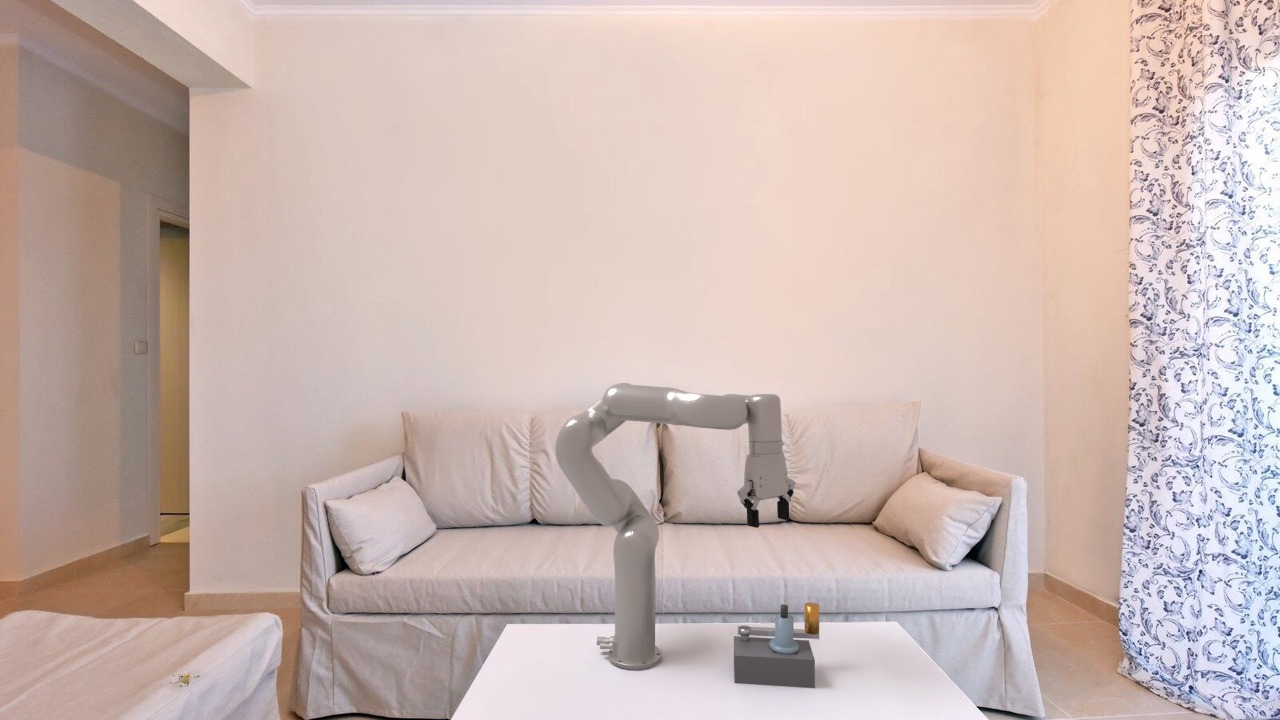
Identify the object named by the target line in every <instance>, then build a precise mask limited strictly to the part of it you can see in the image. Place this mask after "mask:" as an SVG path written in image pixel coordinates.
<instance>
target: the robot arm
mask: <svg viewBox="0 0 1280 720" xmlns="http://www.w3.org/2000/svg"><path fill="white" fill-rule="evenodd" d="M781 405H782V403H781V398H780V396H779V395H777V394H775V393H757V394H751V395H749V394H748V395H745V394H736V393H728V394H724V395H715V394H704V393H703V394H702V393H695V392H694V393H693V392H688V391H685V390H681V389H678V388H676V387H675V388H674V387H667V386H650V385H638V384H631V383H629V382H620V383H616V384H612V385H610V386H609V387H608V388H607V389H606V390H605V391H604V394H603V396H602V397H601V398H599V400H596V402H595V403H593V404H592V405H591V406H589V407H588V408H587V409H585V410H584V411H583V412H581V413H579V414H575V415H573V416H571V417H570V418H569V419H567V420H566V421H565V422H564V424H563V425H562V426H561V428H560V429H559V432H558V434H557V437H556V440H555V445H554V449H555V458H556V461H557V463H558V465H559V466H558V467H559V468H560V469H561V471H562V473H563V475H565V477H566V478H567V480H568V481H569V483H570V484H571V485H572V487H573V488H574V490H575V492H576V493H577V495H578V496H579V498H580V499H581V501H582V503H583V504H584V505H585V507H586V508H587V509H588V510H589V513H590V514H591V516H592V518H594V519H595V521H596V522H598V523H599V524H601V525H602V526H605V527H613V529H615V531H616V532H617V534H616V536H615V539H614V543H613V563H614V564H613V565H614V635H611V636H610V637H605V636H597V637H596V645H597V646H599V649H600V650H608V653H607V655H608V656H607V659H608V660H609V662H610V663H611V664H612V665H614V666H616V667H618V668H621V669H626V670H643V669H644V670H645V669H649V668H652V667H654V666H656V665H659V663H660V662H661V661H662V658H663V656H662V654H663V653H662V649H660V648H659V647H658V646H656V549H657V546H658V542H659V537H660V529H659V526H658V524H657V522H656V521H655V519H654V517H653V515H652V514H651V513H650V512H649V510H648V509H647V508H646V506H645V505H644V503H643V501H642V500H641V499H640V497H639V496H638V494H637V493H636V492H635V491H634V489H633V488H632V487H631V486H630V484H628V483H627V482H625V481H623V480H621V479H618V478H617V479H616V478H612V477H611V475H610V474H609V473H608V472H607V470H606V468H605V467H604V465H603V464H602V463H601V462H600V461H599V460H598V458H596V457H595V455H594V453H593V447H595V446H596V445H597V444H599V443H601V442H602V441H603V440H604V439H606V438H607V437H608V436H609V435H610V434H611V433H612V432H614V431H616V430H617V429H618V428H619V427H621V426H622V425H623V424H624V423H625V422H627V421H628V422H639V423H640V422H641V423H642V422H643V423H654V424H663V425H664V424H665V425H673V426H683V427H692V428H701V429H709V430H710V429H711V430H712V429H713V430H725V431H729V430H730V431H733V430H737V429H739V428H741V427H742V426H743V425H744V424H745V425H746V424H747V427H748V428H747V430H748V454H747V455H746V457H745V463H744V475H743V476H744V479H743V481H744V482H743V483H744V484H743V486H742V487H741V488H740V489H738V491H737V496H738V498H739V500H740V503H741V504H742V505H743V507H744V509H746V523H747V526H748V527H751V528H756V529H757V528H759V527H760V517H759V516H760V515H759V514H760V513H759V512H760V511H759V509H758V508H757V507H758V506H759V503H760V501H765V500H770V499H774V498H775V499H776V498H777V499H778V500H777V501H776V506H777V507H776V508H777V509H776V510H777V512H776V513H777V519H780V520H784V521H789V520H790V517H791V516H790V503H791V502H792V497H793V495H794V490H795V486H796V481H795V480H793V479H791V478H789V476H788V467H787V461H786V458H785V454H784V452H783V446H784V441H783V431H782V430H783V428H782V406H781Z"/></svg>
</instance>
